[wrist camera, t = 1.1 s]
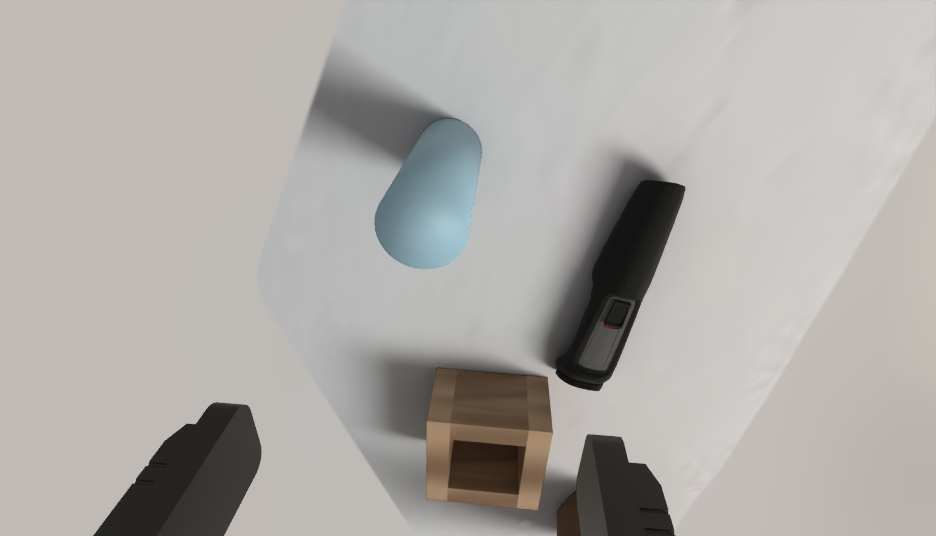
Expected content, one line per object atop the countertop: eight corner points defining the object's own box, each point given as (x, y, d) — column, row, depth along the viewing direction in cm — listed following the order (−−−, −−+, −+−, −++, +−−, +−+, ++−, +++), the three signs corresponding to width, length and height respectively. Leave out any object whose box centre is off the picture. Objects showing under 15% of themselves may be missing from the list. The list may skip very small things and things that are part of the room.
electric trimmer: (694, 174, 27) (715, 194, 24) (601, 377, 35) (608, 410, 32) (629, 158, 27) (643, 177, 24) (550, 366, 34) (553, 398, 32)
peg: (417, 116, 26) (371, 179, 17) (483, 120, 26) (471, 186, 17) (417, 179, 28) (376, 265, 19) (479, 184, 28) (466, 272, 19)
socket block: (437, 367, 35) (426, 421, 31) (547, 377, 35) (552, 432, 30) (435, 442, 39) (426, 499, 35) (534, 451, 39) (537, 510, 34)
